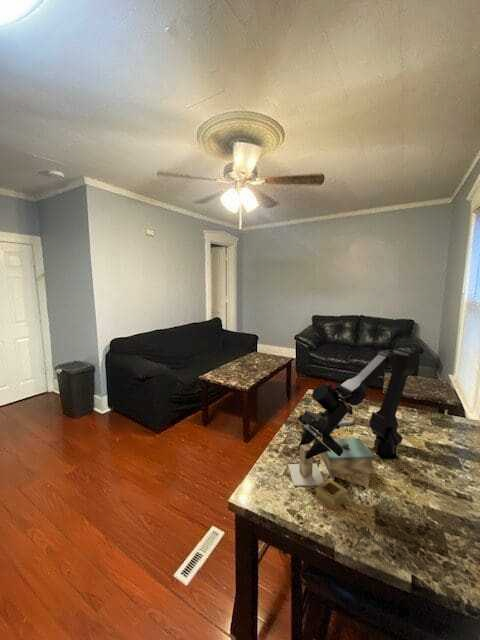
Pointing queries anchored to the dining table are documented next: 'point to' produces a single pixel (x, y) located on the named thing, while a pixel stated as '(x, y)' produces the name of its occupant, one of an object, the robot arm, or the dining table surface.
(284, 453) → the dining table surface
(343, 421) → the adjustable wrench
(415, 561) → the dining table surface
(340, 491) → the frame
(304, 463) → the brown square block
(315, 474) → the grey mat
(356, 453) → the drawer
